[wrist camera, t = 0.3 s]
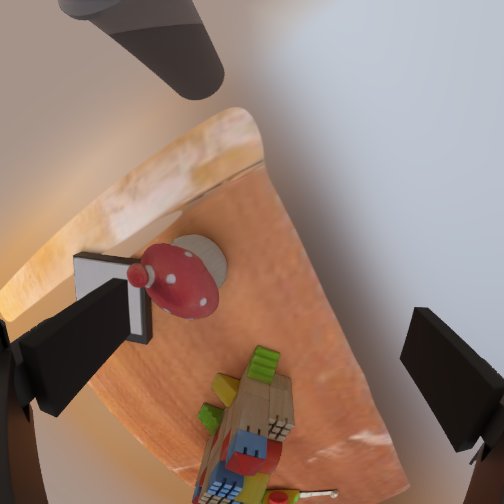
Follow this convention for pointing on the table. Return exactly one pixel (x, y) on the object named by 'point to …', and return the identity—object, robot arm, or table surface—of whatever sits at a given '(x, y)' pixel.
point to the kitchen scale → (102, 270)
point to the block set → (245, 432)
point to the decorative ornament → (182, 276)
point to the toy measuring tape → (290, 496)
